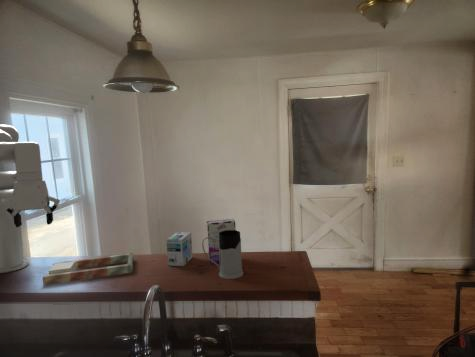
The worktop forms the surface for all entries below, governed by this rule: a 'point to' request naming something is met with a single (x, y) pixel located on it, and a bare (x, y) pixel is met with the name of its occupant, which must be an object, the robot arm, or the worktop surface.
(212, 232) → the candy bar box
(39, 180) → the robot arm
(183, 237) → the light bulb box
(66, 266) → the cream block
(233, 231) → the white pitcher
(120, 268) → the trap lane
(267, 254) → the worktop surface
